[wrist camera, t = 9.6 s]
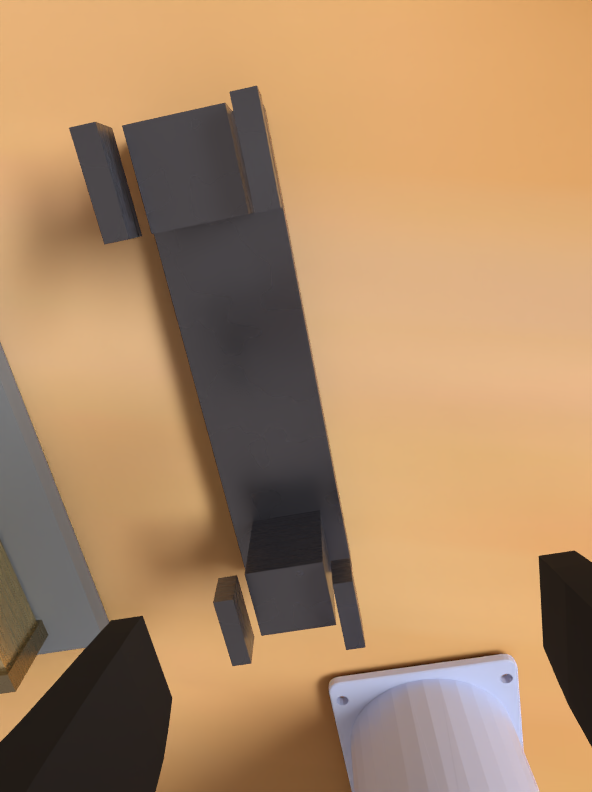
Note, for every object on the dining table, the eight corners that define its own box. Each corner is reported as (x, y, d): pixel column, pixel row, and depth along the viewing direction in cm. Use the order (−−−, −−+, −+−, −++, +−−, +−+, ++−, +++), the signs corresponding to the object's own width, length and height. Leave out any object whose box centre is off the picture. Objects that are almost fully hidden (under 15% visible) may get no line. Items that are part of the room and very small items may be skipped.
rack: (352, 552, 22) (366, 653, 17) (249, 568, 22) (234, 671, 17) (268, 109, 16) (254, 72, 12) (133, 138, 17) (65, 115, 12)
